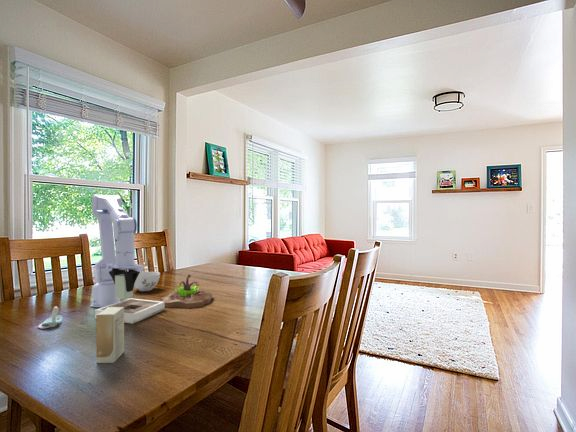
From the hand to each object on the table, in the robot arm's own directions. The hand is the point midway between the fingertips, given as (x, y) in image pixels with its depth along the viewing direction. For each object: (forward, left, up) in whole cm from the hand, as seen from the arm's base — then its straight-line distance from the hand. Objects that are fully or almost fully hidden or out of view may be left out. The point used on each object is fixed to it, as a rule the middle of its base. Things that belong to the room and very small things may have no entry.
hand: (124, 290), depth 112 cm
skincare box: (+21, -27, -10) cm, 35 cm away
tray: (0, +3, -9) cm, 10 cm away
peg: (0, 0, -3) cm, 3 cm away
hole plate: (0, +3, -9) cm, 10 cm away
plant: (+9, +25, -10) cm, 28 cm away
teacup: (-21, +35, -10) cm, 42 cm away
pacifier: (-16, -14, -10) cm, 23 cm away
